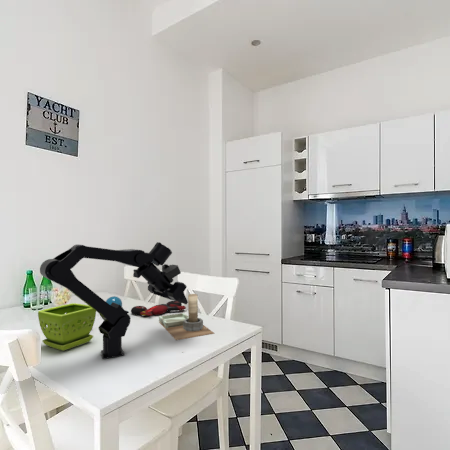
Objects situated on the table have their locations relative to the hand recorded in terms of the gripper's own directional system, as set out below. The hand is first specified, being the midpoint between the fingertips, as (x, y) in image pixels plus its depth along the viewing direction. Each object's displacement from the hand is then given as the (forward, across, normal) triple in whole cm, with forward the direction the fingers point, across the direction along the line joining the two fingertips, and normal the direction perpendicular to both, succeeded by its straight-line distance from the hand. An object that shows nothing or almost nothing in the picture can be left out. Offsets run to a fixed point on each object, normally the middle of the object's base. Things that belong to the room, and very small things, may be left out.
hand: (179, 301), depth 118 cm
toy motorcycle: (+16, +32, +2) cm, 36 cm away
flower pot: (-15, +19, +33) cm, 41 cm away
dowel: (+12, 0, +4) cm, 13 cm away
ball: (+4, +46, +14) cm, 49 cm away
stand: (+12, +4, +6) cm, 14 cm away
